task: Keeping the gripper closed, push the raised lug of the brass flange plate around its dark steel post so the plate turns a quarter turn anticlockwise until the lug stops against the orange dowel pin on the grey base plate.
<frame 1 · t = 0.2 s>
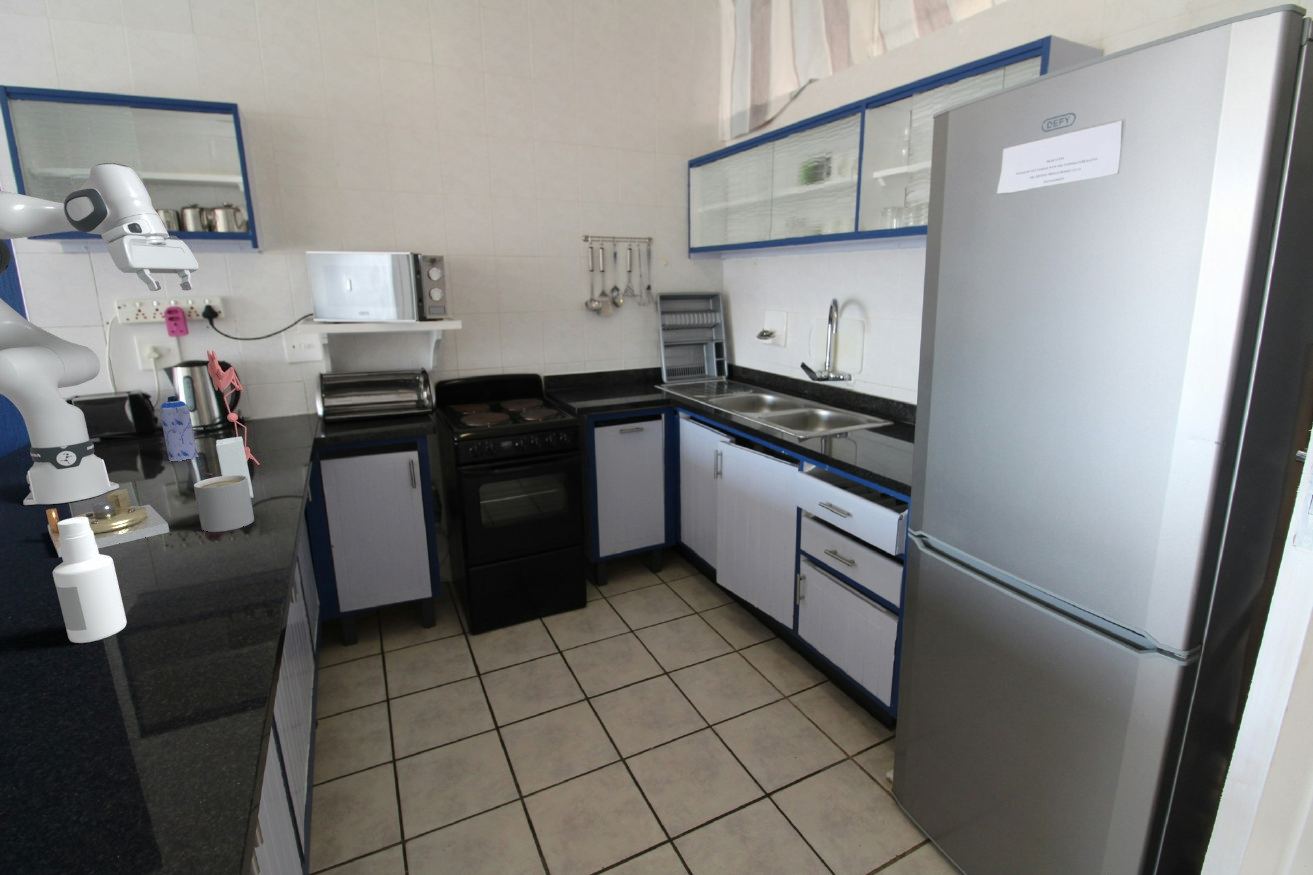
hand: (172, 290, 156), 52 cm above the worktop, tool tilted 20°, fingers open, 8 cm apart
coffee mug: (228, 522, 147), on the worktop
figurine: (230, 467, 196), on the worktop
base plate: (109, 532, 142), on the worktop
skincare box: (239, 496, 166), on the worktop
white bottle: (99, 633, 99), on the worktop
flange plate: (106, 510, 142), point 5 cm above the worktop, hinge at 0.0°
aerosol can: (183, 459, 208), on the worktop
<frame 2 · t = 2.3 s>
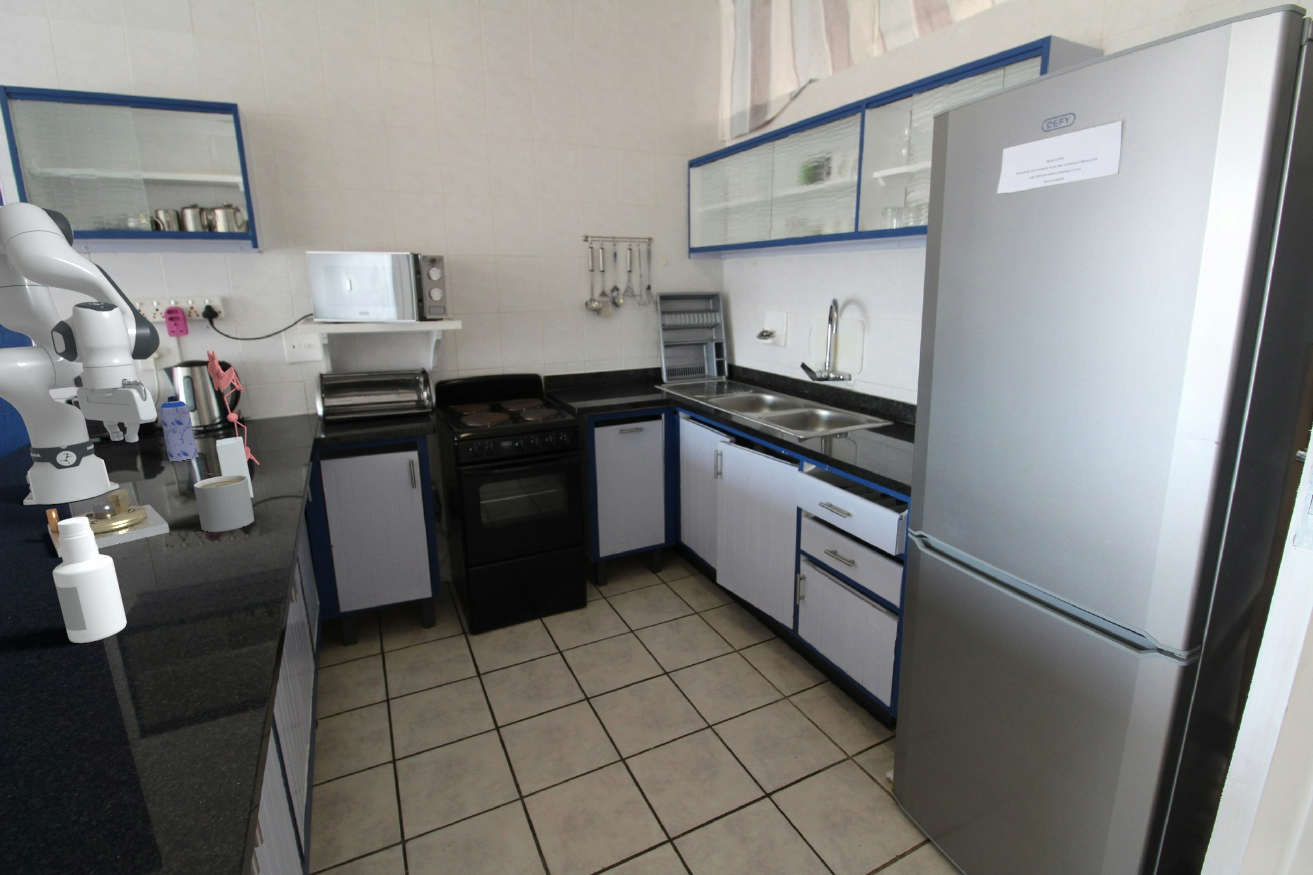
hand: (124, 440, 144), 19 cm above the worktop, tool pointing down, fingers open, 4 cm apart
nothing on the worktop moved.
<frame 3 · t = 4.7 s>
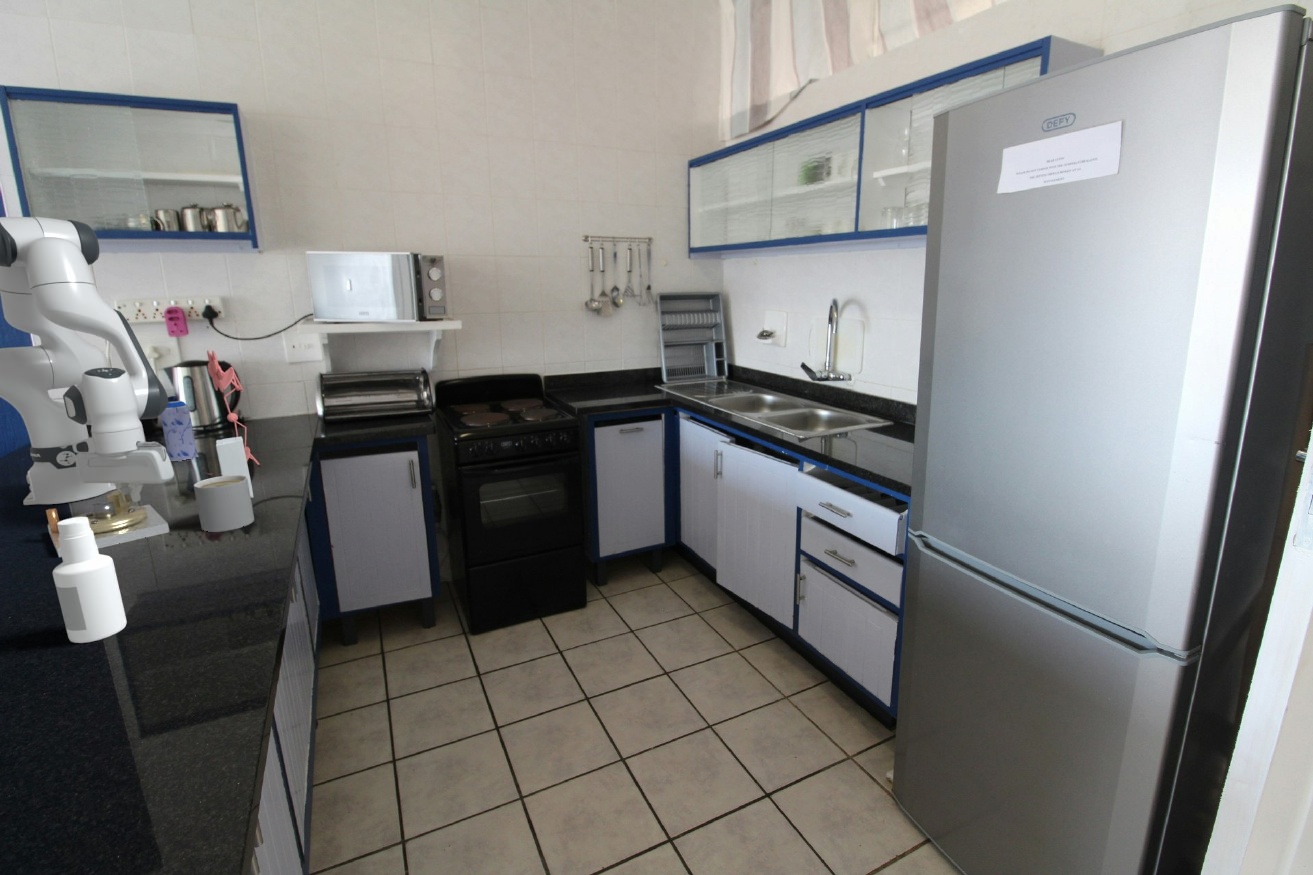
hand: (132, 501, 147), 5 cm above the worktop, tool pointing down, fingers closed
flange plate: (106, 510, 142), point 5 cm above the worktop, hinge at 0.1°, touching gripper
everything else where it was.
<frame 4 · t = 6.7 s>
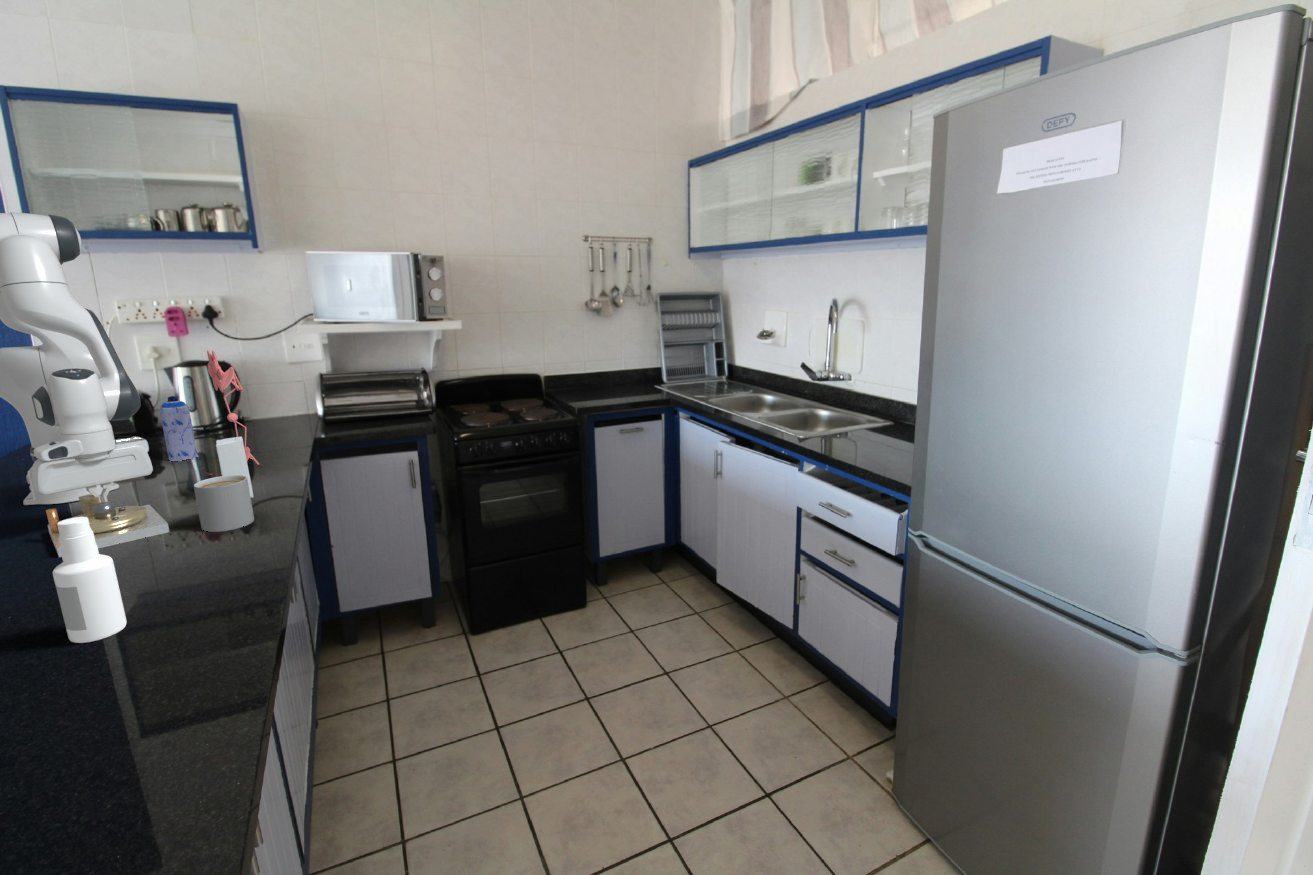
hand: (102, 503, 146), 5 cm above the worktop, tool pointing down, fingers closed
flange plate: (102, 511, 141), point 5 cm above the worktop, hinge at 44.2°, touching gripper
everything else where it was.
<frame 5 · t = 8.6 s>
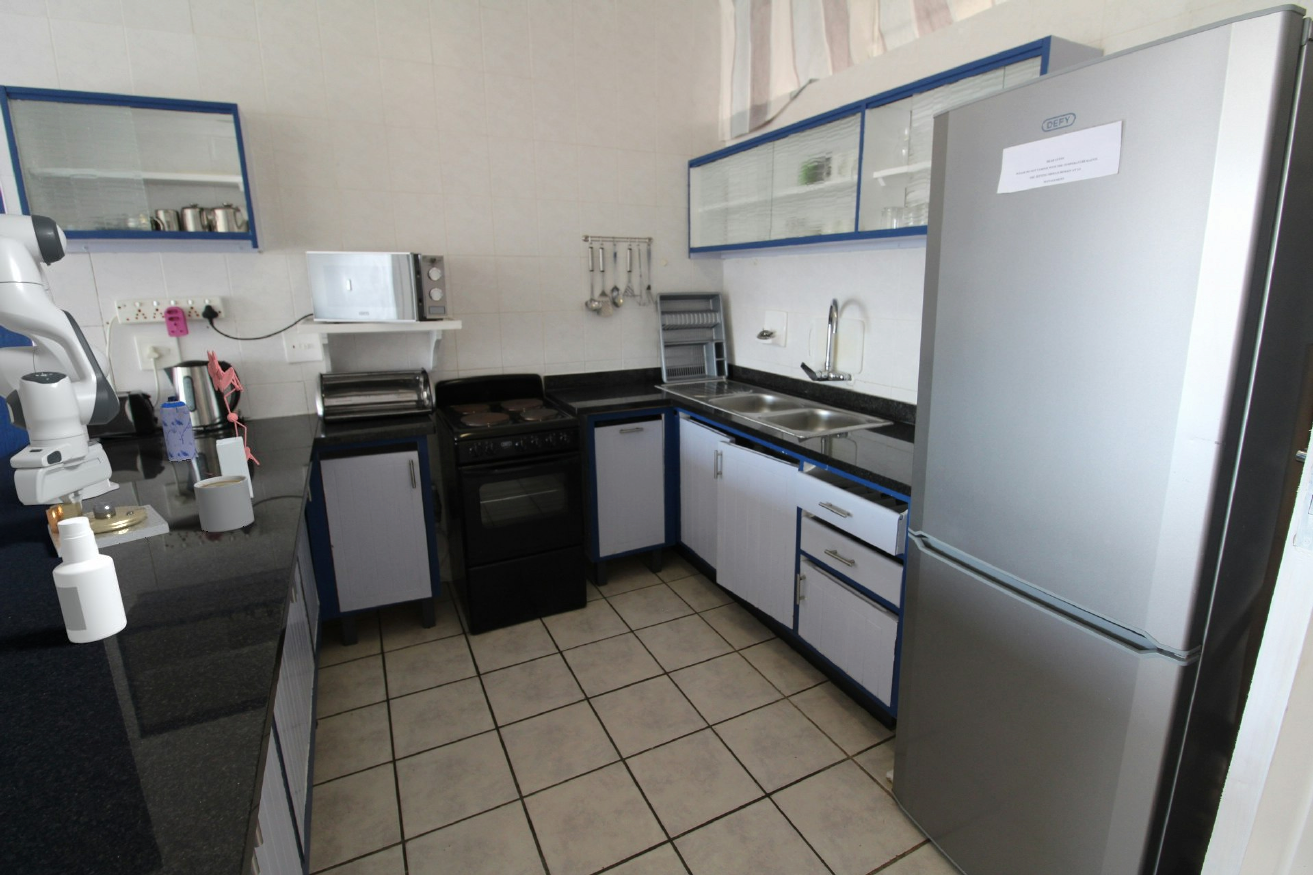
hand: (75, 511, 141), 5 cm above the worktop, tool pointing down, fingers closed
flange plate: (99, 512, 141), point 5 cm above the worktop, hinge at 91.4°, touching gripper
everything else where it was.
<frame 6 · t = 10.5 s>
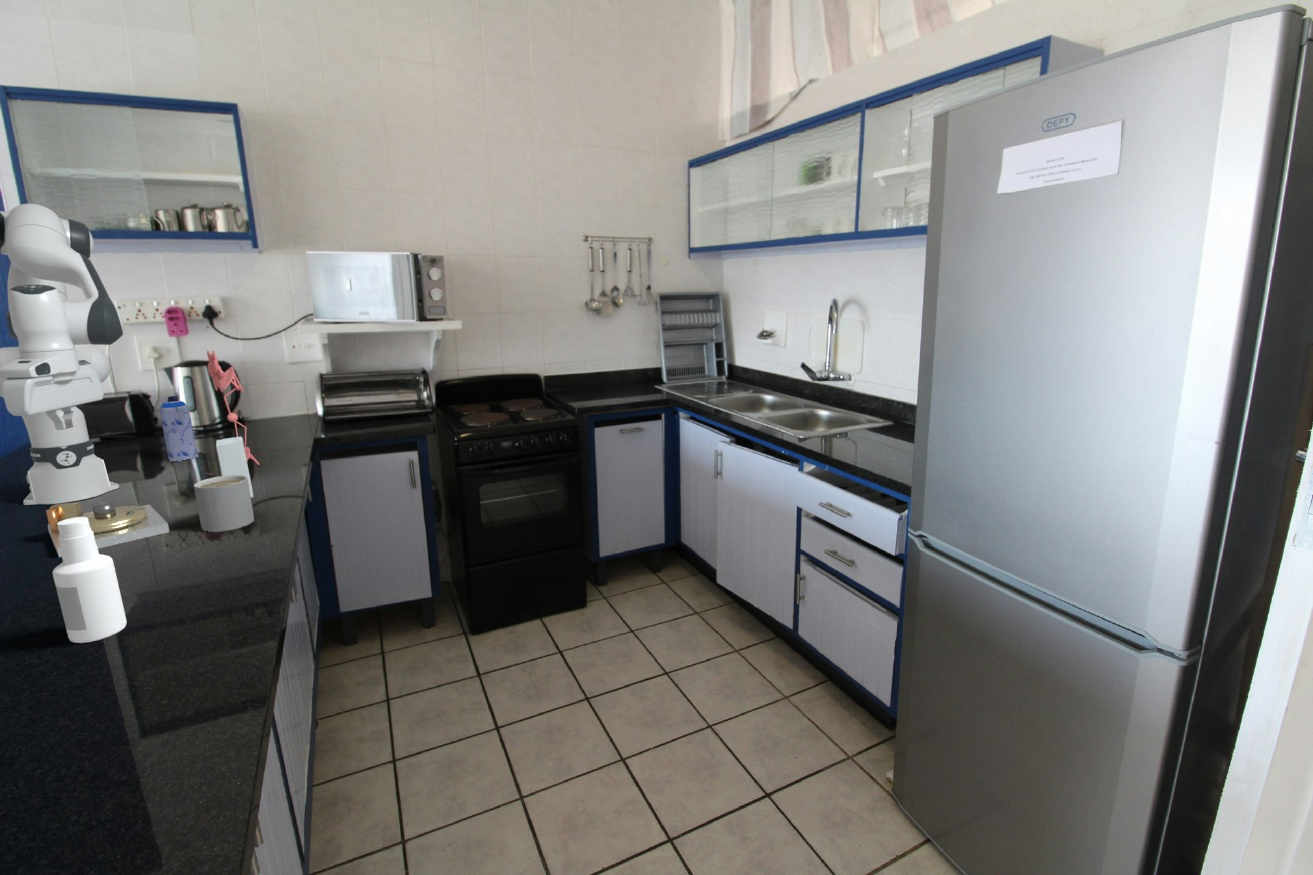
hand: (65, 428, 140), 23 cm above the worktop, tool pointing down, fingers closed
flange plate: (99, 512, 141), point 5 cm above the worktop, hinge at 91.0°
everything else where it was.
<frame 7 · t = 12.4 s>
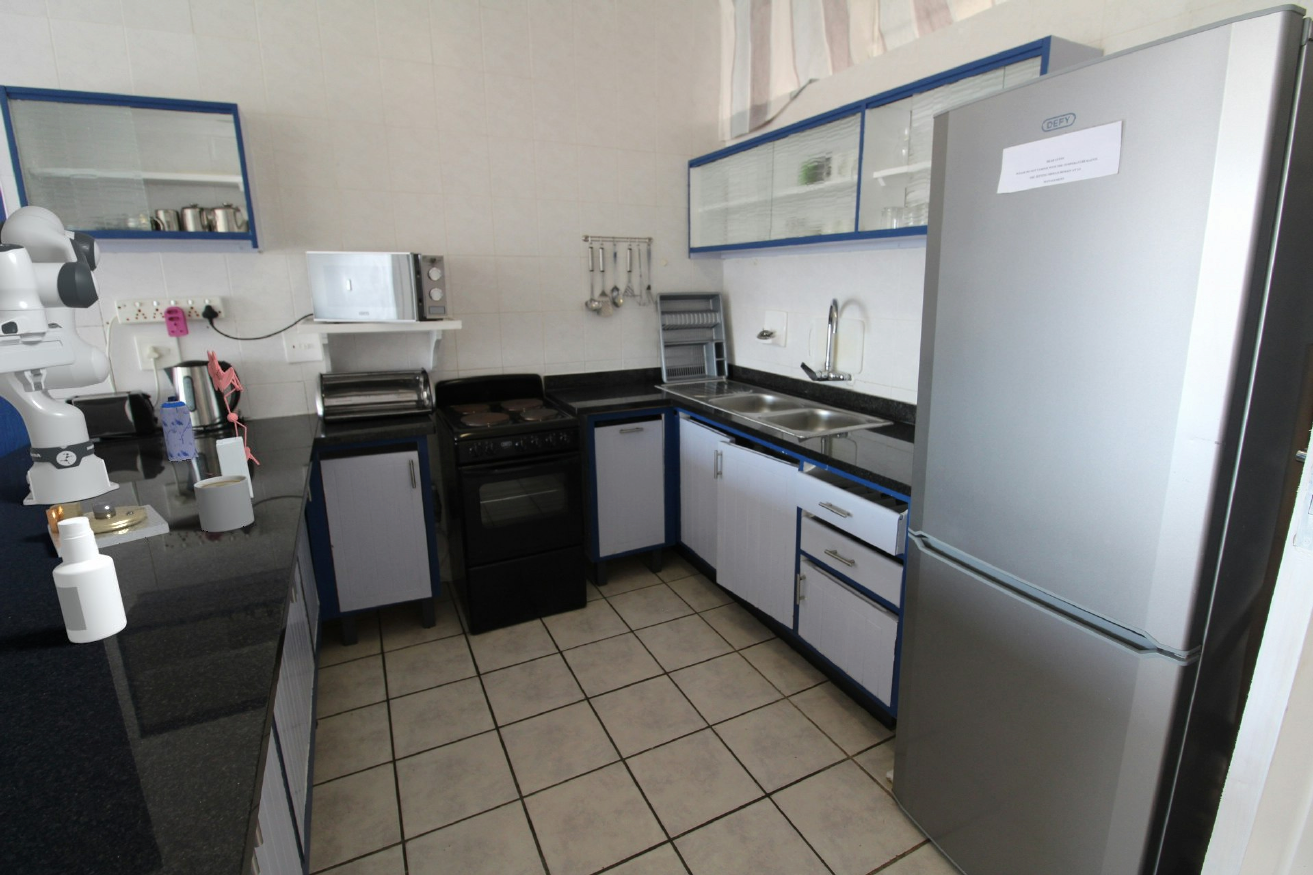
hand: (34, 391, 138), 31 cm above the worktop, tool pointing down, fingers closed
nothing on the worktop moved.
at the end: flange plate at +91° (first picture: +0°) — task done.
